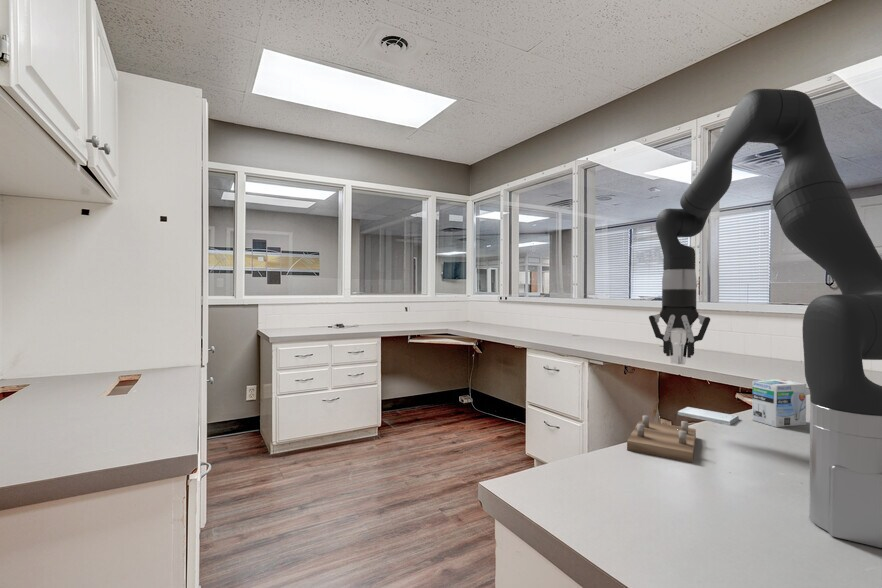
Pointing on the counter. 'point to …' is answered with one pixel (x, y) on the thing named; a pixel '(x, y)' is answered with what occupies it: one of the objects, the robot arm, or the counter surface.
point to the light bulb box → (779, 402)
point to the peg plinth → (663, 440)
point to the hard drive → (708, 415)
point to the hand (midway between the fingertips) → (678, 356)
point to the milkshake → (678, 345)
